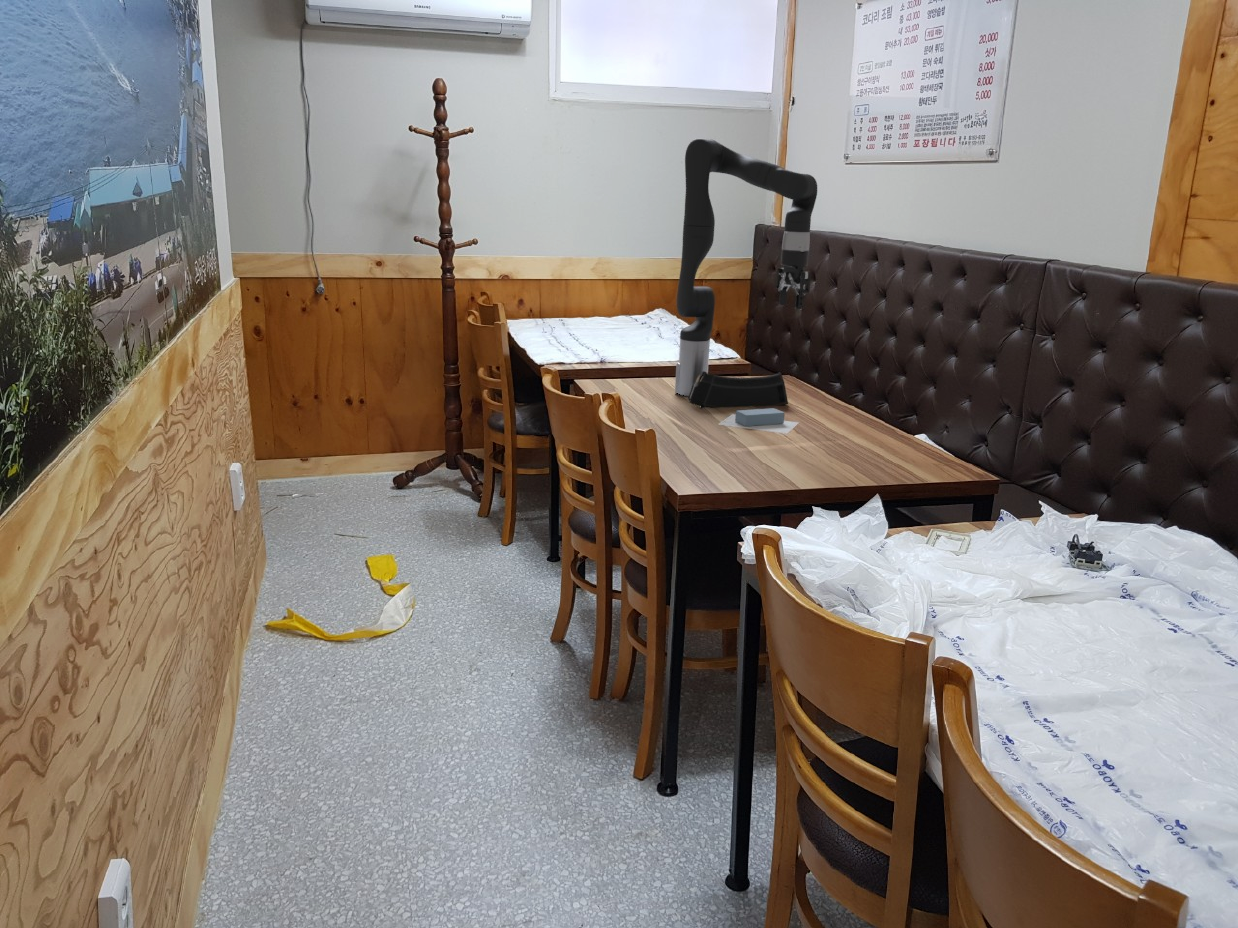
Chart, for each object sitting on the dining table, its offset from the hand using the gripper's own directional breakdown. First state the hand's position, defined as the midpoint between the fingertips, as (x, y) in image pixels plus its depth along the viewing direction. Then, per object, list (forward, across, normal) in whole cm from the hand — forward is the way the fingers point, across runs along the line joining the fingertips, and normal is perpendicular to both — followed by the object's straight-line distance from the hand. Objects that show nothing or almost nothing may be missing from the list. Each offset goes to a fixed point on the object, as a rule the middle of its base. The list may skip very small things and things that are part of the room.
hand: (790, 306), depth 253 cm
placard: (+28, +16, -11) cm, 34 cm away
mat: (+30, +16, -17) cm, 38 cm away
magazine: (+30, -5, -12) cm, 33 cm away
